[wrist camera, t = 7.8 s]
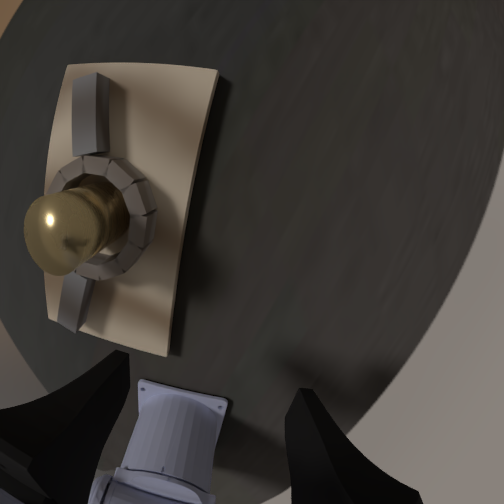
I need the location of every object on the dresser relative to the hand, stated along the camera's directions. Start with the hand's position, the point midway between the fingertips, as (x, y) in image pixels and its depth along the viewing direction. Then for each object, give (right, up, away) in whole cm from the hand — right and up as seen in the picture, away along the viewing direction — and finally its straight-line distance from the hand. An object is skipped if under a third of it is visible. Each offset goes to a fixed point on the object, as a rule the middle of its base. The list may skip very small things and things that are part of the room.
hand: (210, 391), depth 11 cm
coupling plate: (-8, +9, +7) cm, 14 cm away
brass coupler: (-8, +8, +6) cm, 13 cm away
